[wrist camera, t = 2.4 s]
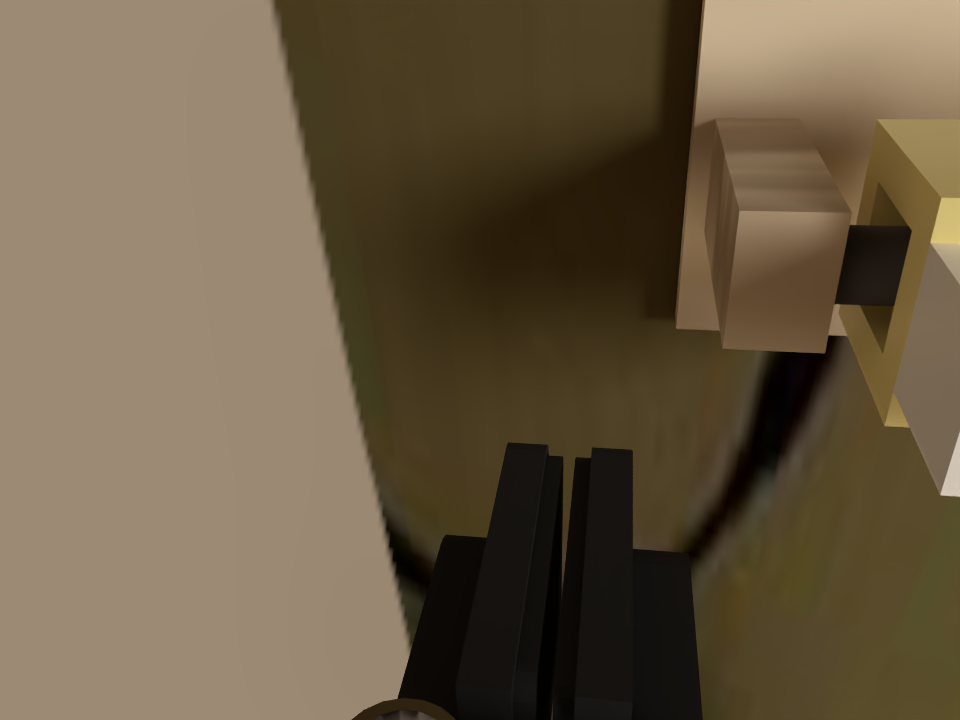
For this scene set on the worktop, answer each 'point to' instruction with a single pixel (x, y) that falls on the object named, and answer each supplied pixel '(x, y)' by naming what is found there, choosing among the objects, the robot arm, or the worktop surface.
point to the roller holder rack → (801, 160)
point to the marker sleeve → (916, 290)
